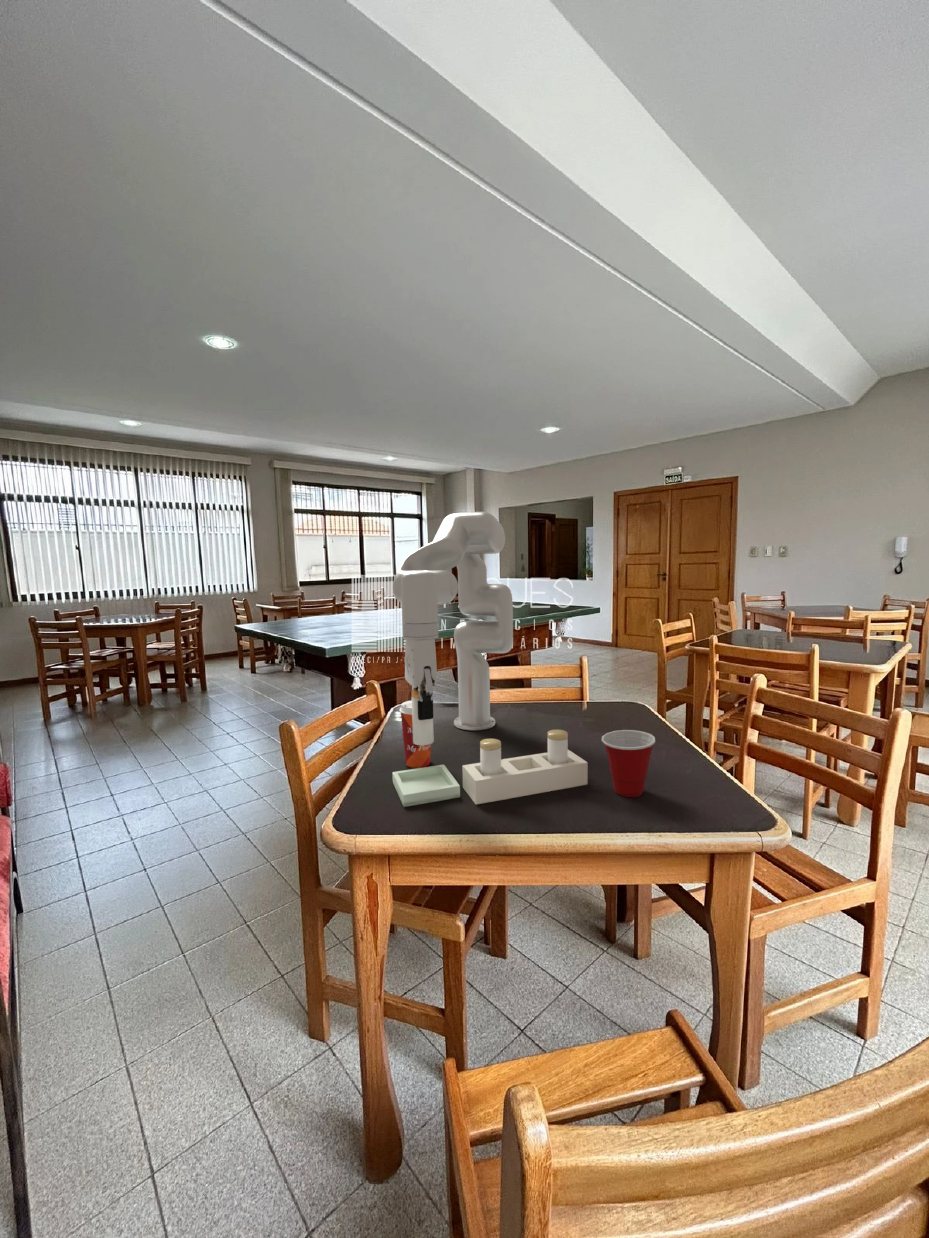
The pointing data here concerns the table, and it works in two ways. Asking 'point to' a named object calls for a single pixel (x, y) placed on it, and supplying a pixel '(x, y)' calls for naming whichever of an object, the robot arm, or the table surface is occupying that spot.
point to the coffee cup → (413, 753)
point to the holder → (524, 777)
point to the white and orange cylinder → (421, 724)
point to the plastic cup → (628, 760)
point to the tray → (425, 785)
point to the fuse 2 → (557, 747)
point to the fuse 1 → (490, 757)
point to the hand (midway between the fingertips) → (422, 714)
